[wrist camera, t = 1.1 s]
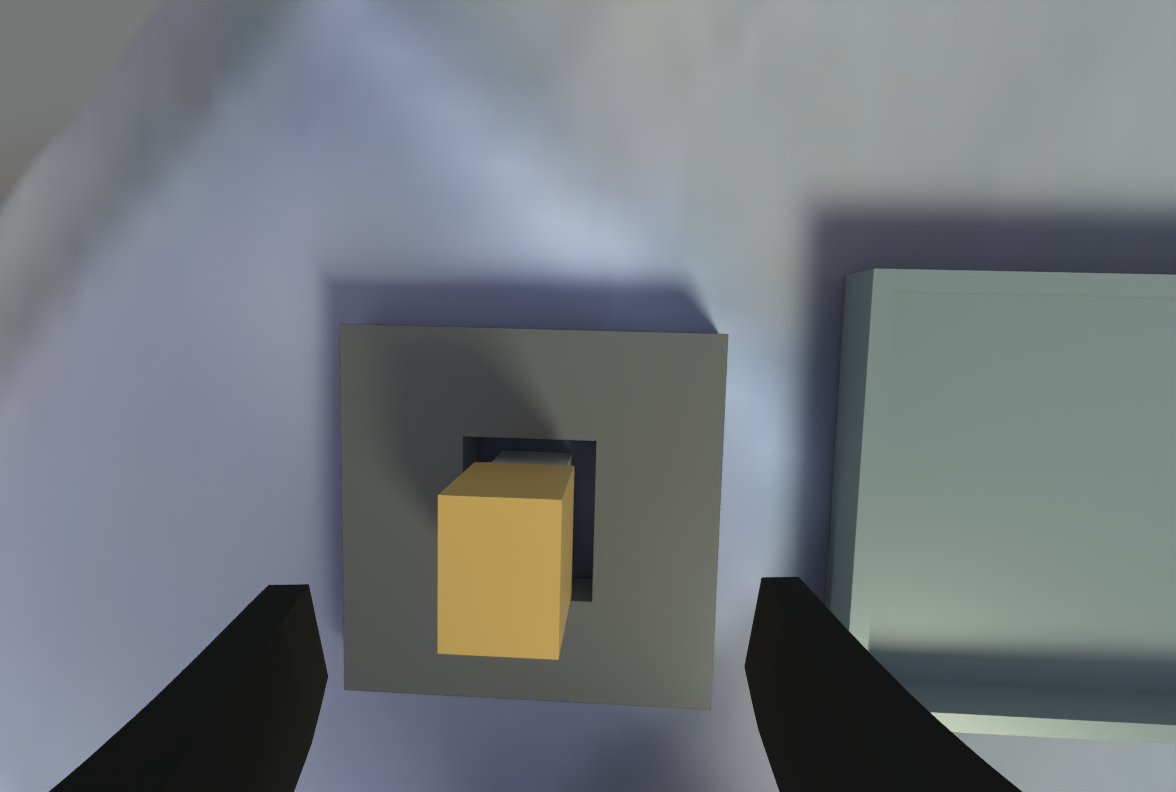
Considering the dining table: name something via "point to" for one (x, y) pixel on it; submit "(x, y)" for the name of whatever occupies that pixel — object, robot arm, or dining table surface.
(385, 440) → the fuse holder
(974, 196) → the dining table surface
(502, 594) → the block
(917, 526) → the parts tray
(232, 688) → the robot arm
